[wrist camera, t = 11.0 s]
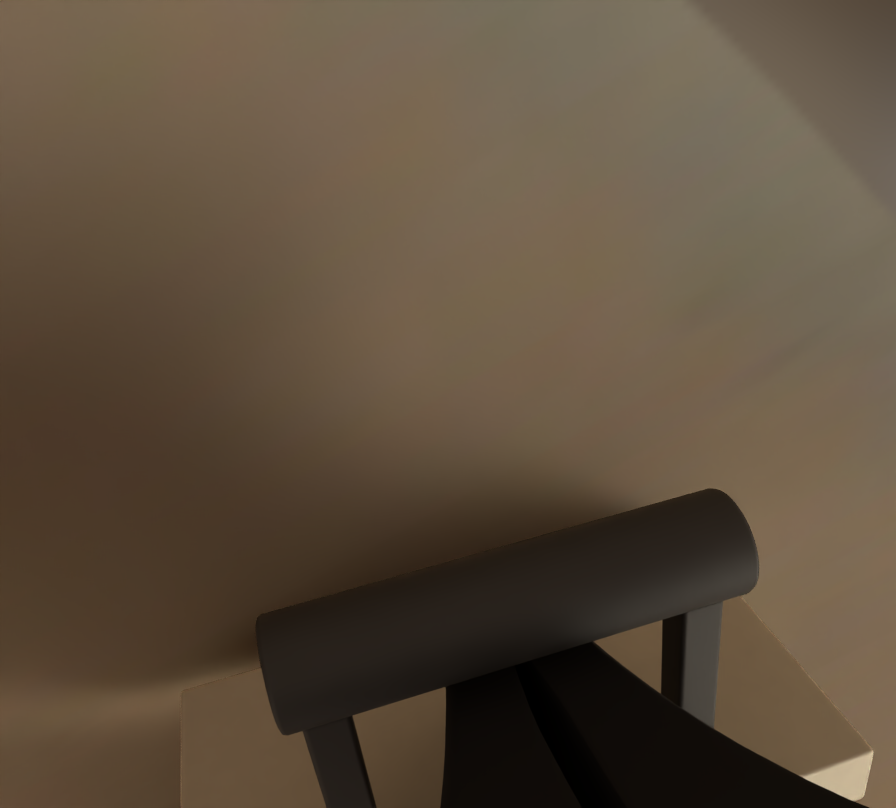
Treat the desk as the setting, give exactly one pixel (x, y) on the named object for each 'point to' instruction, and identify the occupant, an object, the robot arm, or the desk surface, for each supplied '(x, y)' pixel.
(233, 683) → the drawer
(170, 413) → the desk surface
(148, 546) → the desk surface
